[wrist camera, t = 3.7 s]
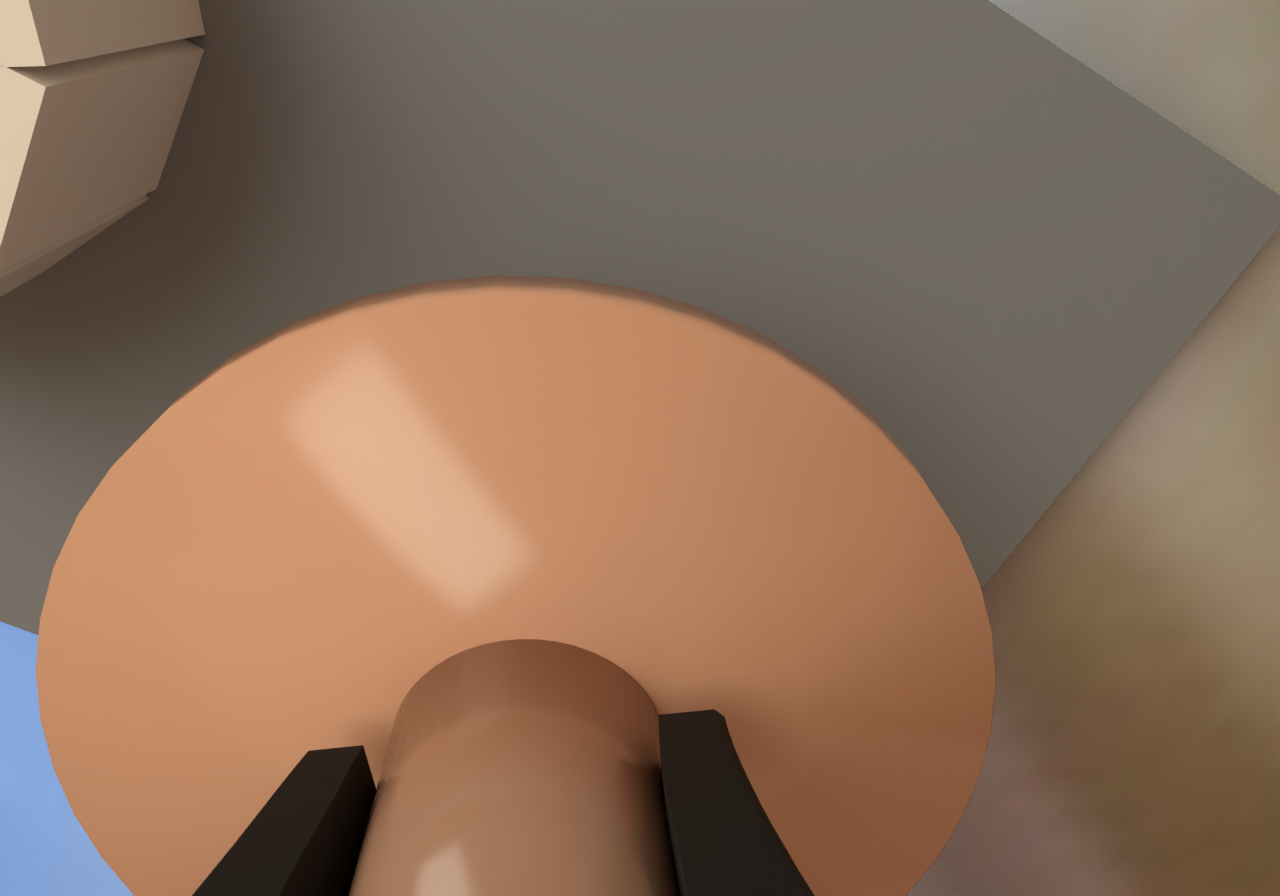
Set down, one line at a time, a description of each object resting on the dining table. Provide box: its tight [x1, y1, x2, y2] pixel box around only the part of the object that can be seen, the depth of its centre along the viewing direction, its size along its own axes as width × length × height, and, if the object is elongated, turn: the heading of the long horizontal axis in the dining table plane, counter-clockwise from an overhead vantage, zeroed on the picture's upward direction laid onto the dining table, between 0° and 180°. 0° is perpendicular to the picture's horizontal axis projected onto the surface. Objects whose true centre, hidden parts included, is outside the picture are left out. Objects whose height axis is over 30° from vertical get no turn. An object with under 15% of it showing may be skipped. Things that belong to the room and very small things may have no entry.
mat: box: [0, 0, 1280, 635], centre depth 16 cm, size 28×17×1 cm, turn 61°
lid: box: [36, 275, 996, 896], centre depth 11 cm, size 11×11×4 cm
